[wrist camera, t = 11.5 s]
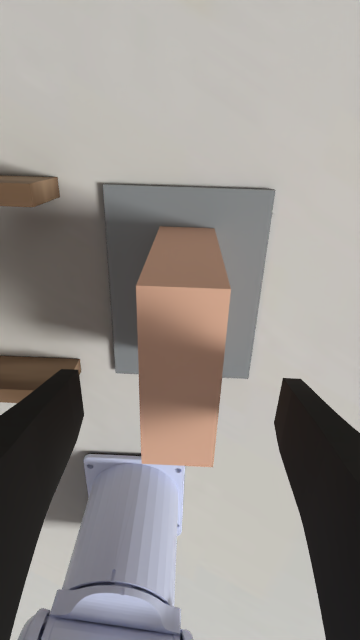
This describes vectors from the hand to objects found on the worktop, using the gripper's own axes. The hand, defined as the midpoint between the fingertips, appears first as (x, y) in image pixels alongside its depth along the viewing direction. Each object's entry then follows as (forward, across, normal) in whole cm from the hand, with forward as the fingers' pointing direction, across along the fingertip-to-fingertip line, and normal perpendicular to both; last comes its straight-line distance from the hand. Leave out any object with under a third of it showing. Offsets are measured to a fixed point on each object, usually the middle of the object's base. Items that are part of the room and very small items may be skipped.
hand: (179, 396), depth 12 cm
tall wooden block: (+10, 0, 0) cm, 10 cm away
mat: (+10, 0, 0) cm, 10 cm away
